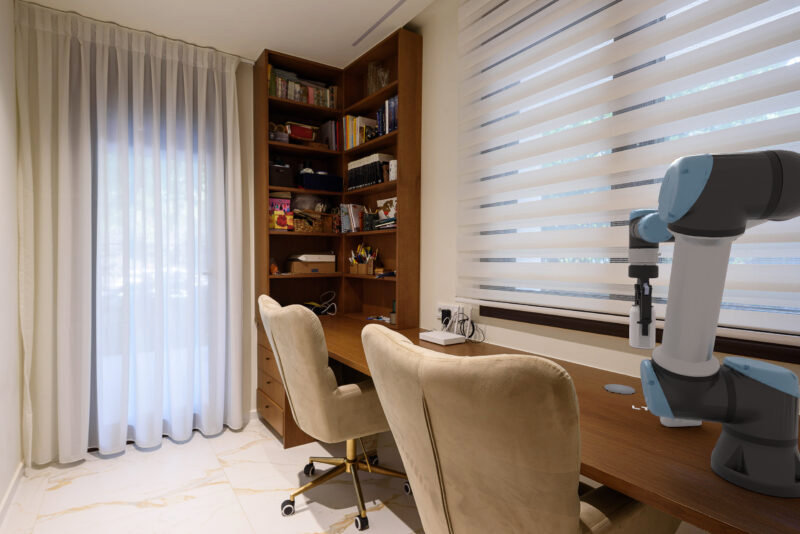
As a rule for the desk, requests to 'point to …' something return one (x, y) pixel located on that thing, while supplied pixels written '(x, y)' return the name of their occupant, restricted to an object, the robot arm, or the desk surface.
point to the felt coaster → (619, 388)
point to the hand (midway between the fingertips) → (642, 344)
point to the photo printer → (679, 422)
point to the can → (635, 328)
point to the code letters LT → (639, 409)
